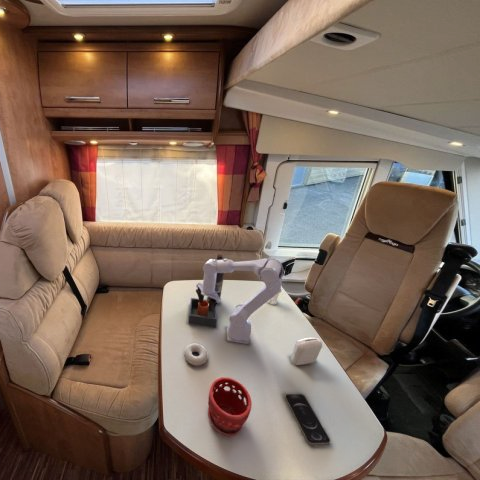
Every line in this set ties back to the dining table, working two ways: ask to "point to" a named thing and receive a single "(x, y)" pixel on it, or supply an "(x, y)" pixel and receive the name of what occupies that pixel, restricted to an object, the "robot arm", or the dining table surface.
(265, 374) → the dining table surface
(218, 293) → the wine bottle
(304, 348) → the photo printer
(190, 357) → the donut
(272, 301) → the cup
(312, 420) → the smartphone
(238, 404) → the flower pot
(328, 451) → the dining table surface
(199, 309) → the terracotta cup
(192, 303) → the tote
